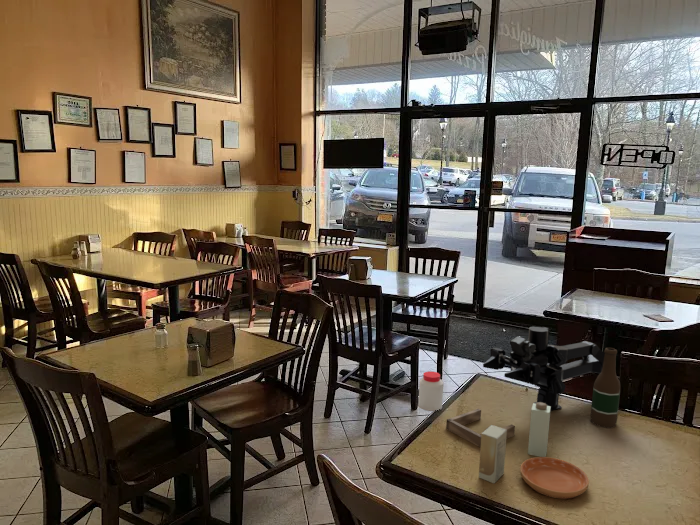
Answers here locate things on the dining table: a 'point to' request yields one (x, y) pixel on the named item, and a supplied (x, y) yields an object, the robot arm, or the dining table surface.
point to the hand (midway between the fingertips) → (493, 370)
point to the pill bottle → (430, 391)
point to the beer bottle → (606, 393)
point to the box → (468, 434)
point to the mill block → (539, 429)
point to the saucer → (554, 477)
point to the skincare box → (492, 453)
